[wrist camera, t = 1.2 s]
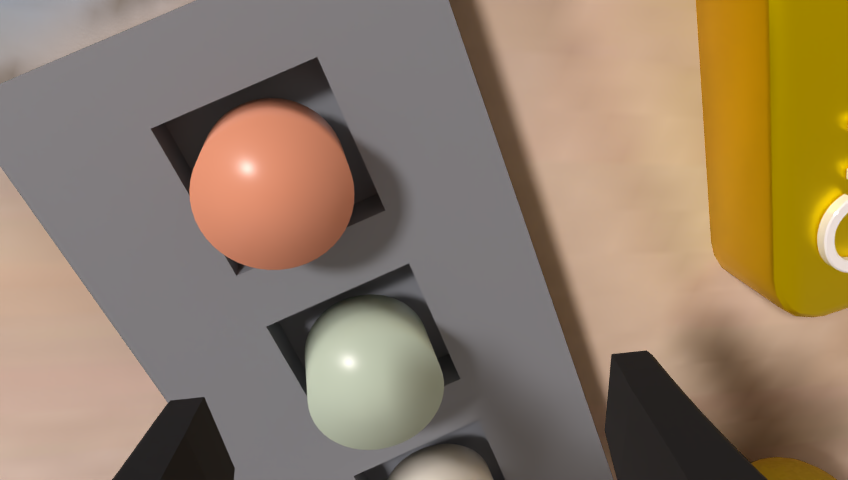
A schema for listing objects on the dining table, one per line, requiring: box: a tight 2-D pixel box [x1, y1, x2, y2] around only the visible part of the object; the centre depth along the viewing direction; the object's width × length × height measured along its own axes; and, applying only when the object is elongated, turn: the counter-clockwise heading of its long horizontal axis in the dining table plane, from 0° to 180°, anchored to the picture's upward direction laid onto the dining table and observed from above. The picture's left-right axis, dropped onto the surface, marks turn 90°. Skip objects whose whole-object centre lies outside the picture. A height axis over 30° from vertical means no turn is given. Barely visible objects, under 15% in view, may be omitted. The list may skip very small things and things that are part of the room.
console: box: [0, 0, 613, 480], centre depth 24 cm, size 13×24×2 cm, turn 21°
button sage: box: [305, 294, 444, 450], centre depth 21 cm, size 4×4×3 cm
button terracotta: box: [189, 98, 354, 270], centre depth 19 cm, size 4×4×3 cm
